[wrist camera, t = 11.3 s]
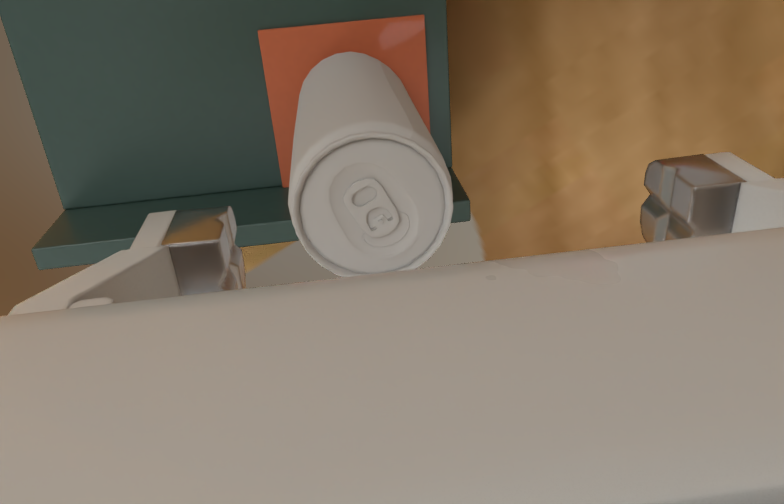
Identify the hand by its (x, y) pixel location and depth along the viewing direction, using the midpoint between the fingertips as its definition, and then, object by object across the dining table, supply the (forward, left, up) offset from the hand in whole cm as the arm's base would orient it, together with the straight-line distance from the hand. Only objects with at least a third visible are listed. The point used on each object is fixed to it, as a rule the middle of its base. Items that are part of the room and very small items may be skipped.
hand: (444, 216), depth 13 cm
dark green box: (-1, -6, -25) cm, 25 cm away
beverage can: (+2, -1, -18) cm, 18 cm away
